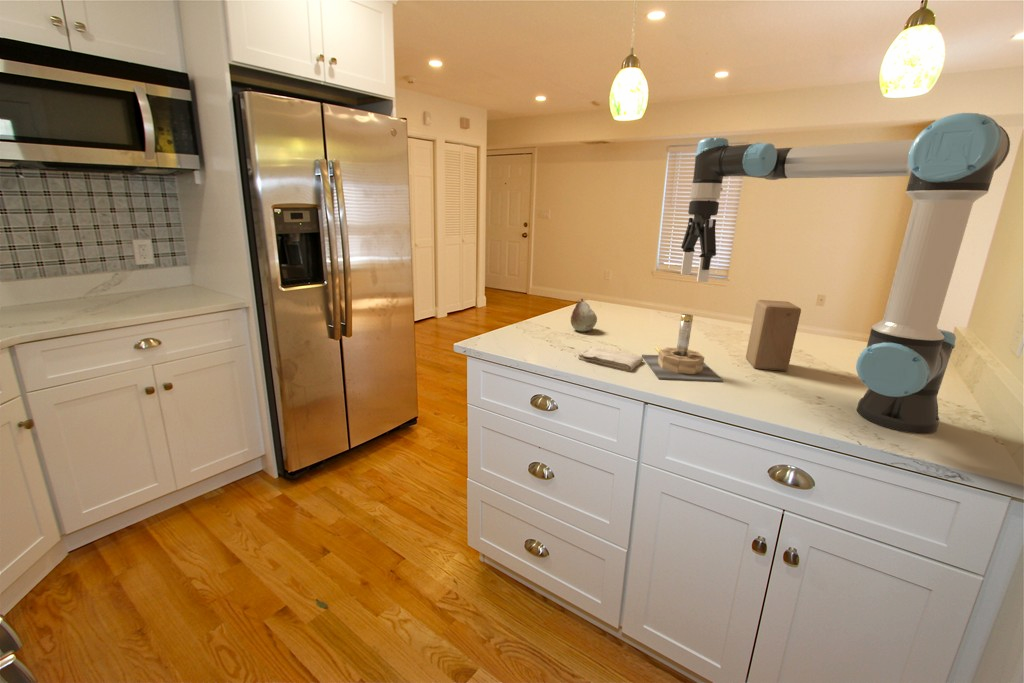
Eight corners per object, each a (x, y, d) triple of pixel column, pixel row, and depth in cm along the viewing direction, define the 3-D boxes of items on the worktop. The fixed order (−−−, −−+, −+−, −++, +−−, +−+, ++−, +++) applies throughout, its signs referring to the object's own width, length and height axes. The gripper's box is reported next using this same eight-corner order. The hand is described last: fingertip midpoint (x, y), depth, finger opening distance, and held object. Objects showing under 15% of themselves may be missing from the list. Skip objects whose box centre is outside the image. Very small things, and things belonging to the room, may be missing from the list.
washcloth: (591, 351, 154) (592, 343, 153) (644, 363, 145) (645, 353, 144) (575, 361, 144) (576, 351, 143) (631, 373, 135) (632, 364, 134)
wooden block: (788, 372, 139) (803, 308, 133) (753, 369, 141) (766, 305, 135) (777, 361, 148) (790, 301, 143) (744, 358, 150) (755, 298, 144)
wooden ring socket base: (722, 381, 130) (725, 366, 128) (658, 379, 130) (660, 364, 129) (697, 358, 149) (699, 345, 148) (641, 356, 149) (643, 342, 148)
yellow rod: (663, 356, 150) (664, 353, 150) (661, 356, 150) (661, 353, 150) (656, 348, 158) (657, 345, 158) (654, 348, 158) (654, 345, 158)
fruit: (582, 325, 184) (585, 296, 180) (601, 331, 177) (604, 300, 173) (565, 329, 177) (567, 299, 174) (583, 335, 171) (586, 303, 167)
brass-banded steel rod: (687, 368, 138) (694, 316, 133) (675, 368, 138) (683, 316, 133) (683, 364, 141) (691, 314, 136) (672, 364, 141) (679, 313, 136)
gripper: (738, 200, 113) (724, 285, 119) (701, 200, 137) (691, 271, 143) (707, 199, 113) (695, 284, 119) (676, 200, 137) (667, 271, 143)
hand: (693, 277), depth 131 cm, fingers open, 13 cm apart
